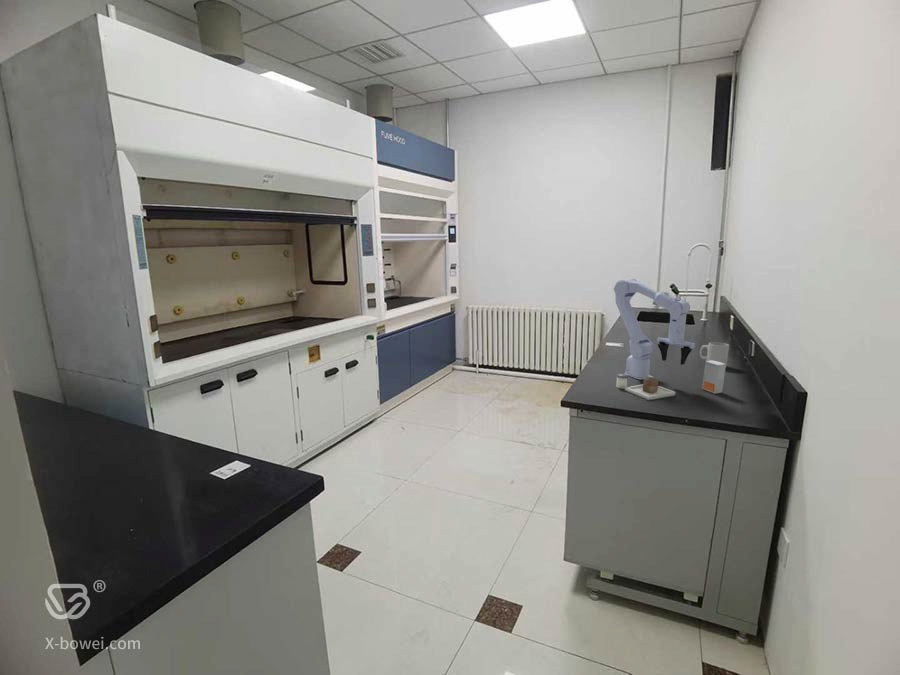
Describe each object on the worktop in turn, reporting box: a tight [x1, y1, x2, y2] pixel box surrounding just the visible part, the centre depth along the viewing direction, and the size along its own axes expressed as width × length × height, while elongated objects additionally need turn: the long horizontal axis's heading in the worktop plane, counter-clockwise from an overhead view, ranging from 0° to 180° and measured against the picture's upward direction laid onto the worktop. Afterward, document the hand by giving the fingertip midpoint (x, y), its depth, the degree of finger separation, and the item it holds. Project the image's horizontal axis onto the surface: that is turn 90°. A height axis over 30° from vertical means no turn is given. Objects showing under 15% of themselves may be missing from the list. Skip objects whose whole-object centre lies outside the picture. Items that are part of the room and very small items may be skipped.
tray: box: [624, 383, 676, 401], centre depth 177 cm, size 12×14×1 cm
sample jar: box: [615, 373, 629, 390], centre depth 184 cm, size 4×4×5 cm
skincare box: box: [701, 360, 727, 394], centre depth 178 cm, size 6×4×12 cm
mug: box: [699, 341, 730, 367], centre depth 214 cm, size 12×8×11 cm
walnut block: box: [642, 377, 659, 394], centre depth 177 cm, size 4×4×5 cm
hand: (673, 362), depth 184 cm, fingers open, 7 cm apart
